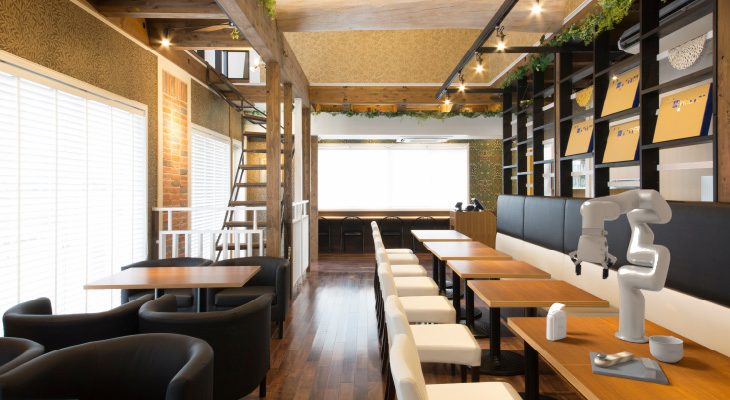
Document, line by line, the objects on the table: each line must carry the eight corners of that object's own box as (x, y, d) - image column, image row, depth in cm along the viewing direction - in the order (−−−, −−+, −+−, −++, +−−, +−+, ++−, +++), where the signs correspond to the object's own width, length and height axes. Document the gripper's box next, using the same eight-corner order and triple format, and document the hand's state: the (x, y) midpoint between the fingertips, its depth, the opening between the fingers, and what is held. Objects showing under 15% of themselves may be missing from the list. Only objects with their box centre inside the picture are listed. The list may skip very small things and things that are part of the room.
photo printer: (558, 335, 195) (559, 307, 194) (567, 337, 191) (568, 309, 191) (544, 339, 189) (545, 310, 189) (553, 342, 185) (554, 313, 185)
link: (603, 368, 154) (603, 357, 154) (591, 364, 158) (592, 353, 158) (635, 360, 162) (635, 349, 162) (623, 356, 166) (623, 346, 166)
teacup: (672, 367, 159) (673, 345, 159) (642, 357, 168) (642, 336, 168) (693, 360, 165) (693, 339, 165) (663, 351, 175) (663, 331, 175)
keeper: (639, 369, 156) (640, 356, 156) (649, 371, 155) (649, 358, 155) (644, 380, 147) (645, 367, 147) (655, 382, 146) (655, 368, 146)
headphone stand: (565, 330, 200) (565, 304, 200) (556, 332, 197) (556, 306, 197) (556, 328, 204) (556, 302, 204) (547, 330, 201) (548, 304, 201)
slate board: (589, 354, 171) (589, 351, 171) (655, 363, 162) (655, 360, 162) (593, 373, 153) (593, 370, 153) (668, 384, 144) (668, 381, 144)
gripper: (620, 234, 167) (619, 279, 166) (573, 231, 179) (572, 272, 179) (613, 235, 161) (612, 281, 161) (566, 231, 174) (564, 274, 174)
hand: (591, 276), depth 170 cm, fingers open, 9 cm apart
